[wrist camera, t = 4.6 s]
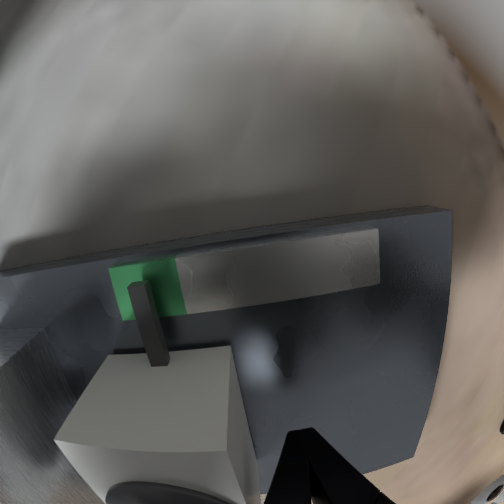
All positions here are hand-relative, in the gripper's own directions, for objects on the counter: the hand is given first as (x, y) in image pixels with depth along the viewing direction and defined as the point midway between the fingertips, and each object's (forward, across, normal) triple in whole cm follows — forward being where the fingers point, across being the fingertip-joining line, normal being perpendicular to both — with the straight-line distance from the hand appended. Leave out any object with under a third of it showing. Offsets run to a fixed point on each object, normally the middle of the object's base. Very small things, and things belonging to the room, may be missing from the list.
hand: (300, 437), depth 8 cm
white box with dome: (+1, +4, -1) cm, 5 cm away
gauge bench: (+3, +3, 0) cm, 4 cm away
